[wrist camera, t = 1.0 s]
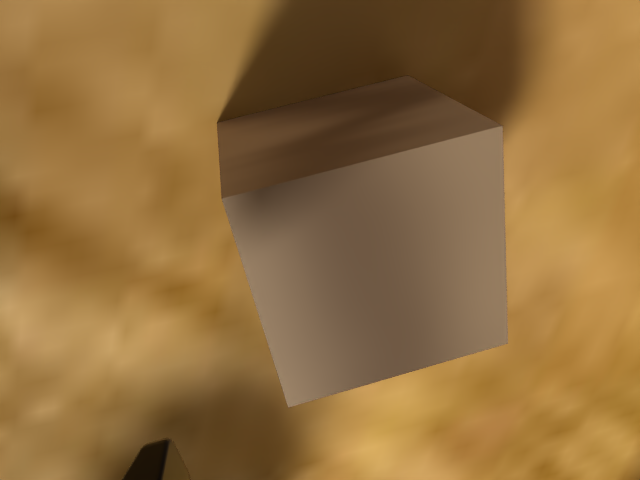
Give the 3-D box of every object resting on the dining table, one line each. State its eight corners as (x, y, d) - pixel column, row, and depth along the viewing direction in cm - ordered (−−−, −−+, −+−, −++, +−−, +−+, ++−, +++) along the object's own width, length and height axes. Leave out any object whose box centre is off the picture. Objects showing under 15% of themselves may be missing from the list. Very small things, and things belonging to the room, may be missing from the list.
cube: (406, 74, 15) (502, 126, 10) (425, 240, 17) (508, 343, 13) (216, 121, 14) (221, 198, 10) (265, 284, 17) (288, 407, 12)
